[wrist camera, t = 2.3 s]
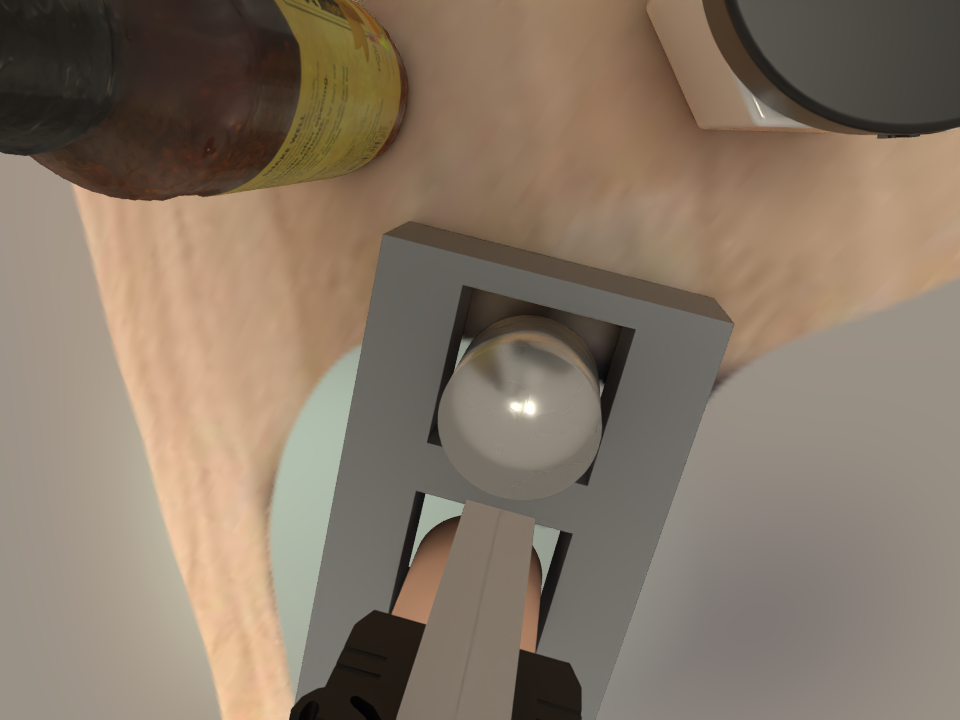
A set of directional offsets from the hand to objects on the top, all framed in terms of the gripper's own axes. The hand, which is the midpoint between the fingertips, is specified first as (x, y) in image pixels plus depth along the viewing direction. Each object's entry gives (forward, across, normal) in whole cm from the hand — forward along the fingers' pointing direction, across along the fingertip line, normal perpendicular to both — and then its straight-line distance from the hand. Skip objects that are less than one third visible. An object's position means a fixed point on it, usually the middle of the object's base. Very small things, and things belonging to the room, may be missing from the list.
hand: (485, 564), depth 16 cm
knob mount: (+15, 0, -8) cm, 17 cm away
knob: (+11, 0, 0) cm, 11 cm away
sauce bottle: (+15, -10, +8) cm, 20 cm away
